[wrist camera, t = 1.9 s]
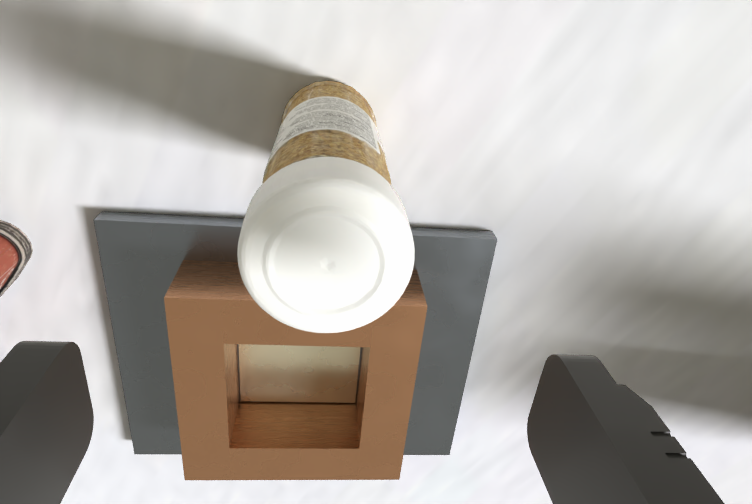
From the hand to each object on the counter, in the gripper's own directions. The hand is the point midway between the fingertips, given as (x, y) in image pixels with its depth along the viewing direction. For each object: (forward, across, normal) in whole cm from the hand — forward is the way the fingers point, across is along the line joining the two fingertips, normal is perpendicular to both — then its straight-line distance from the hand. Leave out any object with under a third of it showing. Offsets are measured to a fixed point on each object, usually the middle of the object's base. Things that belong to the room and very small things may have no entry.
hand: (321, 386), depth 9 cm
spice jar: (+18, 0, 0) cm, 18 cm away
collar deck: (+18, +1, +13) cm, 22 cm away
